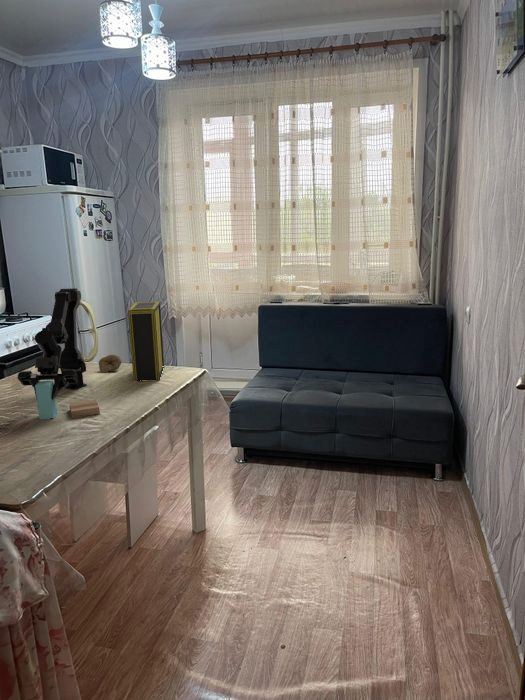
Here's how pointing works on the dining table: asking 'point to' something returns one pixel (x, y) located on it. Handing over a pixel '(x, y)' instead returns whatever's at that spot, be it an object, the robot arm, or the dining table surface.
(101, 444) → the dining table surface
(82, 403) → the base brick
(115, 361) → the fossil
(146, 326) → the diorama
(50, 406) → the tall block
